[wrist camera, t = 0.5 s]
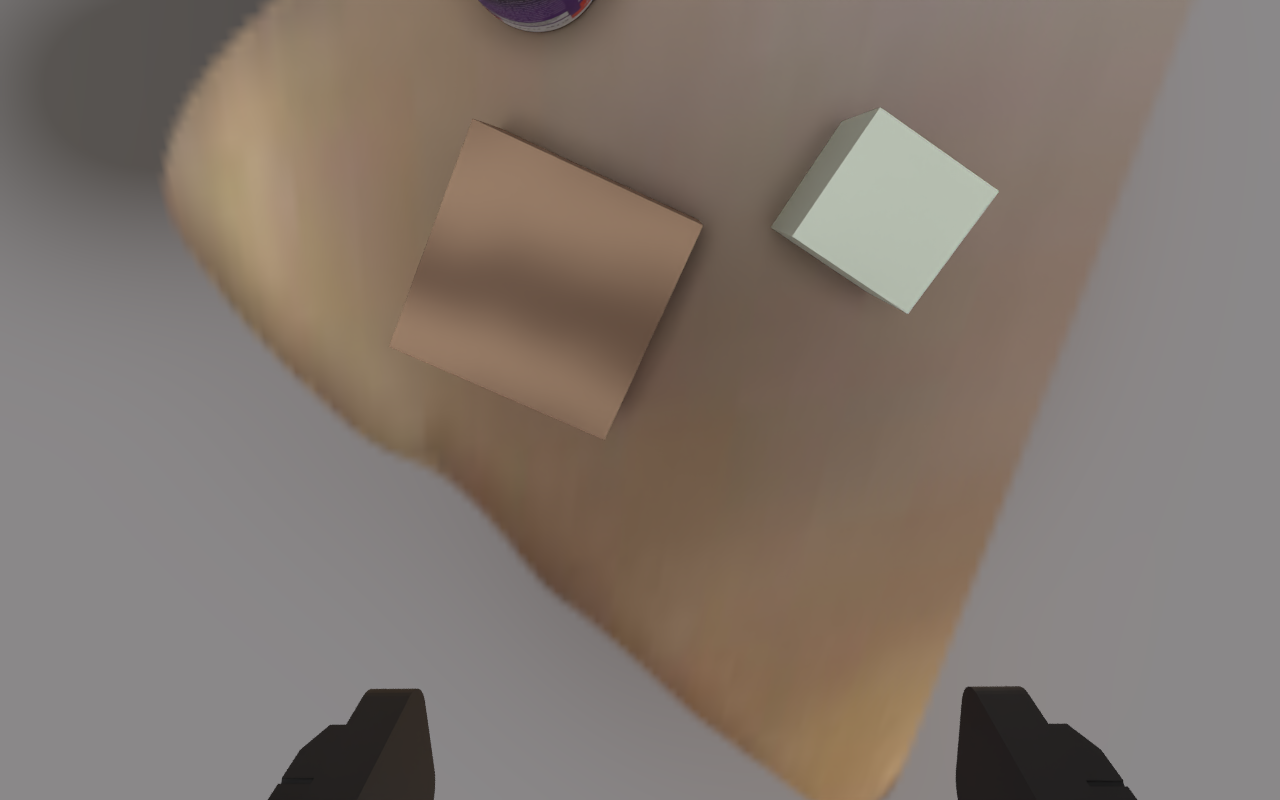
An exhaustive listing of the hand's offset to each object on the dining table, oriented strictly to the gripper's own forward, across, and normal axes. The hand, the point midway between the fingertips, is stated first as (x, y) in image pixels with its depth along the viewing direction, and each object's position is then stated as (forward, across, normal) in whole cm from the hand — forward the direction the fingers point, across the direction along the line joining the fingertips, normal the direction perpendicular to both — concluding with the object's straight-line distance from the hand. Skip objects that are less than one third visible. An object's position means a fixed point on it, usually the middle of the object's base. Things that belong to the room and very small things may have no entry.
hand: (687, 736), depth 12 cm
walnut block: (+24, +5, -4) cm, 25 cm away
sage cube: (+24, -7, -6) cm, 26 cm away
